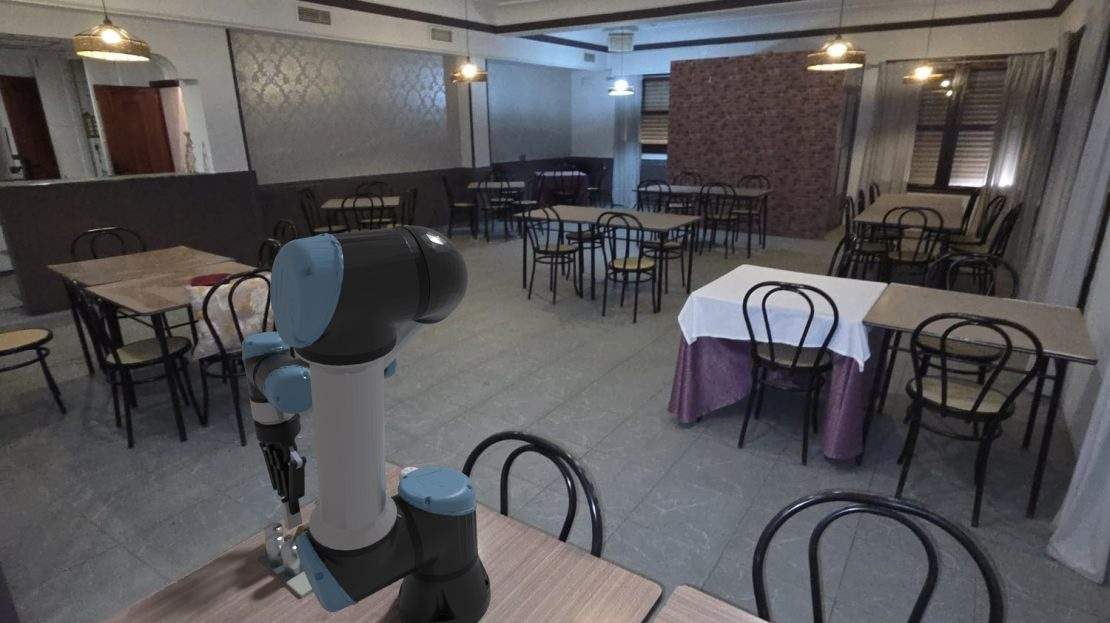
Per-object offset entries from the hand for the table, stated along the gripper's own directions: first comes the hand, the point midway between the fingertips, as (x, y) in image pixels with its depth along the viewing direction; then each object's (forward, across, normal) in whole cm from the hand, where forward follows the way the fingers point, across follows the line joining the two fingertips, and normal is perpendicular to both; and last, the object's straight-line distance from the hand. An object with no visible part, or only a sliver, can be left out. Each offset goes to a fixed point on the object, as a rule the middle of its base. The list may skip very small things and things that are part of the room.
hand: (293, 525), depth 114 cm
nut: (+1, -6, 0) cm, 6 cm away
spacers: (+1, -6, 0) cm, 7 cm away
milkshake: (+2, -12, -20) cm, 23 cm away
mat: (+2, -9, 0) cm, 9 cm away
